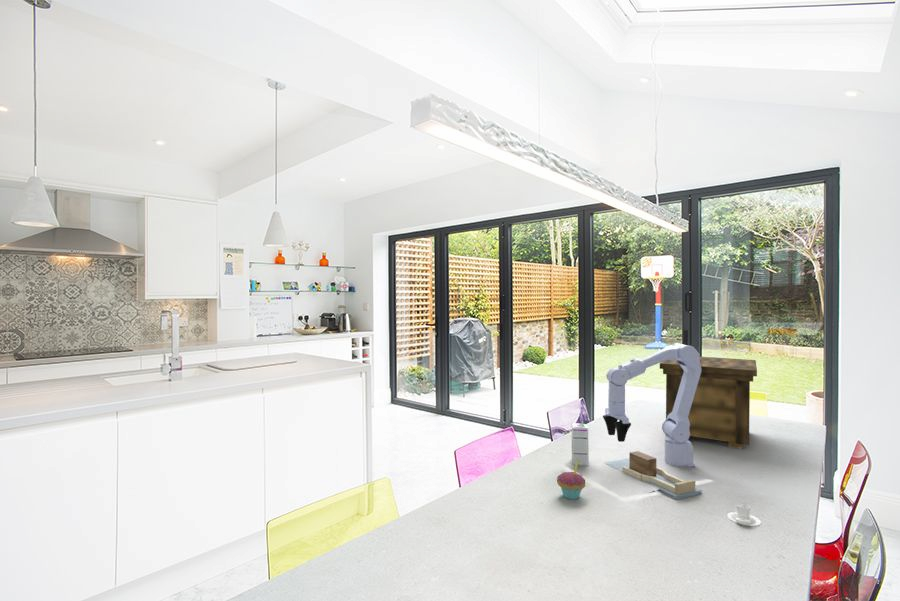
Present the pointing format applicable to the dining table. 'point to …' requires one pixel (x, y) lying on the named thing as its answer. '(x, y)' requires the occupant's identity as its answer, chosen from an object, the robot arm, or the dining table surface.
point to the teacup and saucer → (743, 515)
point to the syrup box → (580, 444)
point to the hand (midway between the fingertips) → (616, 438)
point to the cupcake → (571, 483)
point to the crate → (716, 398)
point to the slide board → (660, 480)
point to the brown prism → (642, 463)
